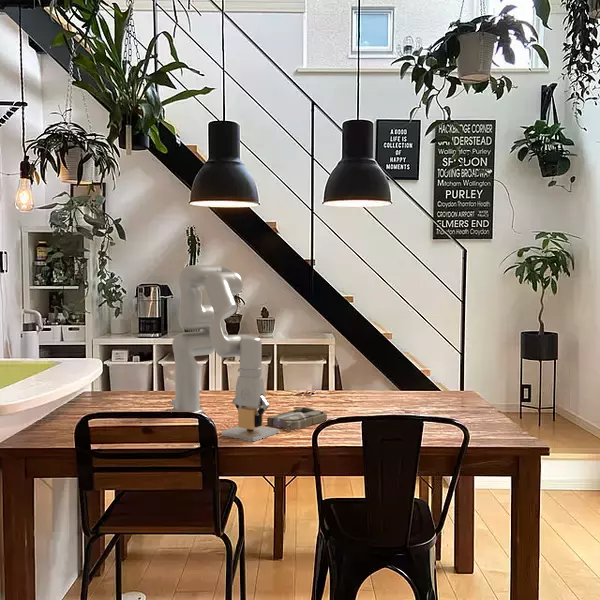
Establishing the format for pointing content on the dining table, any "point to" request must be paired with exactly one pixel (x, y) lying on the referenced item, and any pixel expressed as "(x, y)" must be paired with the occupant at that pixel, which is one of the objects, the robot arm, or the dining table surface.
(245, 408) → the wooden toy block
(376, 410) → the dining table surface
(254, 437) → the plate
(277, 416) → the grey flat case
